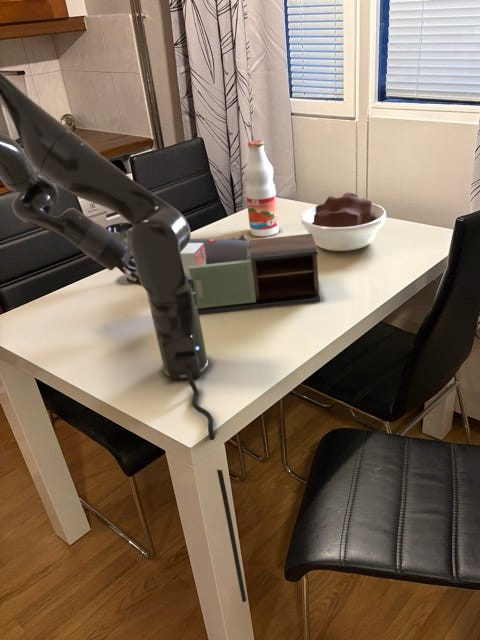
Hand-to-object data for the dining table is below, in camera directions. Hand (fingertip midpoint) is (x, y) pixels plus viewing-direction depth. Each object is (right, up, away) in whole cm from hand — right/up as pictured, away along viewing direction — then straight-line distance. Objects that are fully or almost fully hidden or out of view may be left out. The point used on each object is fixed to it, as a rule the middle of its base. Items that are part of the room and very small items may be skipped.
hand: (165, 289), depth 143 cm
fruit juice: (+22, +27, +50) cm, 61 cm away
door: (+14, -3, +3) cm, 15 cm away
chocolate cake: (+47, +19, +35) cm, 61 cm away
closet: (+29, +1, +10) cm, 31 cm away
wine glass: (-15, +7, +26) cm, 31 cm away
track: (+22, -3, +4) cm, 23 cm away
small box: (+4, +4, +19) cm, 20 cm away
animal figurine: (+18, +21, +39) cm, 48 cm away
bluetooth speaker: (+11, +16, +27) cm, 34 cm away
